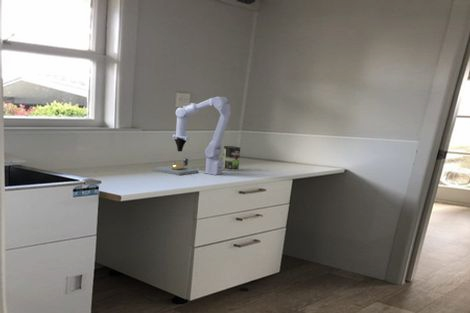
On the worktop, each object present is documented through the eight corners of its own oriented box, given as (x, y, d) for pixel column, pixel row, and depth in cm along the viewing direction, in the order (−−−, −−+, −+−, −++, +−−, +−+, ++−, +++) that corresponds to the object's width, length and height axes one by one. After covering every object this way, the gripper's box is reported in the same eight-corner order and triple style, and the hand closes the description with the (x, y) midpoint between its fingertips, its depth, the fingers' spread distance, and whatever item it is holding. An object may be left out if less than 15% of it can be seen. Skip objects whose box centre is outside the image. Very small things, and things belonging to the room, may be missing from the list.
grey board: (198, 172, 264) (199, 169, 264) (179, 175, 249) (179, 172, 249) (173, 167, 274) (173, 165, 274) (153, 170, 259) (153, 167, 259)
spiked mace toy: (178, 170, 256) (179, 160, 256) (169, 168, 259) (169, 159, 259) (191, 168, 267) (191, 159, 266) (181, 166, 270) (182, 157, 269)
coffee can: (242, 170, 286) (243, 147, 284) (229, 171, 279) (231, 148, 278) (231, 167, 294) (233, 145, 292) (218, 168, 287) (220, 145, 285)
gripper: (193, 129, 267) (192, 152, 268) (180, 127, 278) (179, 149, 280) (183, 129, 262) (181, 152, 264) (170, 127, 274) (169, 149, 275)
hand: (179, 151), depth 272 cm, fingers closed
